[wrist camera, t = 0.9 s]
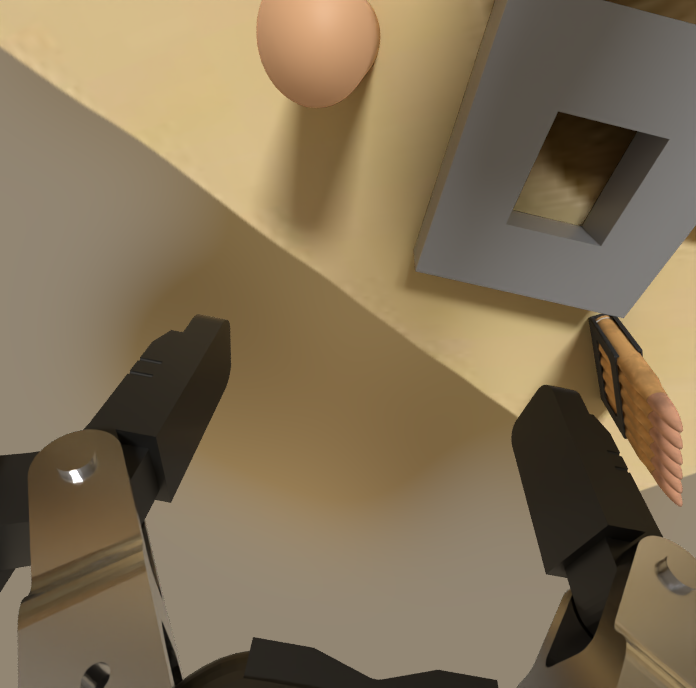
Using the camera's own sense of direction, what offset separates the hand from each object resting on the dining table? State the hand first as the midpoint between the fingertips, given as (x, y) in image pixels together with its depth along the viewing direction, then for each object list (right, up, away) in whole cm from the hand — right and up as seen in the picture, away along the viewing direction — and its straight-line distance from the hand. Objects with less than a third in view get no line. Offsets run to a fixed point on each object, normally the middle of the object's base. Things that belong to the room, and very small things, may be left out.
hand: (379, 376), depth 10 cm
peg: (-1, +19, +13) cm, 23 cm away
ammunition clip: (+23, 0, +26) cm, 35 cm away
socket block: (+14, +13, +17) cm, 25 cm away
